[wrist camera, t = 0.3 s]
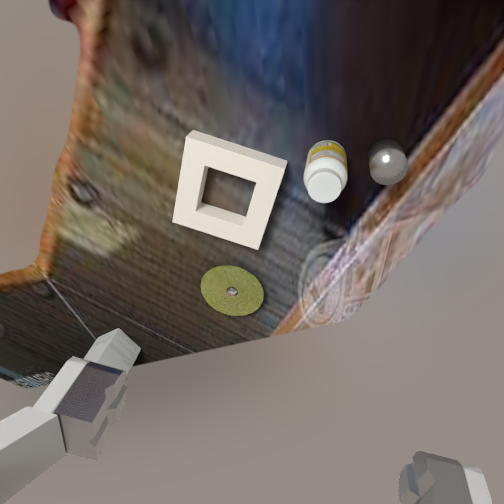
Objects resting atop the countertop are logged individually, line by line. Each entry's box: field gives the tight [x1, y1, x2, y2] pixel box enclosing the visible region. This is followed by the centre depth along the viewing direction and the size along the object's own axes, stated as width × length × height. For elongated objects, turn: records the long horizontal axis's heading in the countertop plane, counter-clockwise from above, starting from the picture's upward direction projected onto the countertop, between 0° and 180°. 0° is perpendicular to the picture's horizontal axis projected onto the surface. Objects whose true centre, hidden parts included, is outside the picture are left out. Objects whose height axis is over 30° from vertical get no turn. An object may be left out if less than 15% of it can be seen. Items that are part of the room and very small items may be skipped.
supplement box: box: [84, 328, 141, 376], centre depth 79 cm, size 7×7×13 cm
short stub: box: [368, 138, 408, 185], centre depth 49 cm, size 4×4×5 cm
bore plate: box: [173, 130, 287, 250], centre depth 57 cm, size 14×14×3 cm
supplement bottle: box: [304, 140, 347, 203], centre depth 49 cm, size 5×5×10 cm
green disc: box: [201, 266, 264, 316], centre depth 68 cm, size 11×11×2 cm
